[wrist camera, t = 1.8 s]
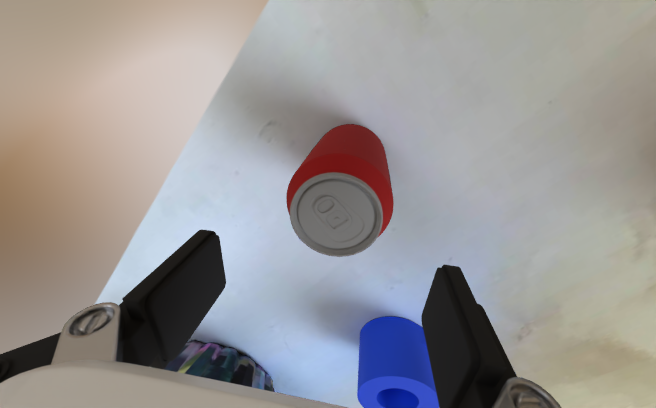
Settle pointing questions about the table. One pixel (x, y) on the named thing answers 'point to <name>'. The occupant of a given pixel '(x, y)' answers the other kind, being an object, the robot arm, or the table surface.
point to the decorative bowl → (220, 365)
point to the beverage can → (342, 192)
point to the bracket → (395, 366)
